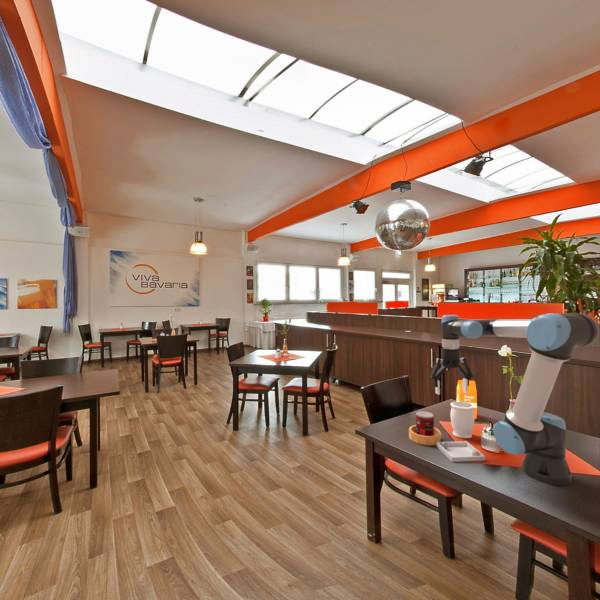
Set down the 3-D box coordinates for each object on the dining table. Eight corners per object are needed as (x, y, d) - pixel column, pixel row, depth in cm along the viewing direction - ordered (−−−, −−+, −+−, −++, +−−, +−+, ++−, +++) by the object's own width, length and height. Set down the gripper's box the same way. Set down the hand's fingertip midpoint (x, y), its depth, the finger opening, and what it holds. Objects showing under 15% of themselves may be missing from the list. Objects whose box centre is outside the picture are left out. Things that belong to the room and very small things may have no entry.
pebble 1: (449, 449, 146) (449, 443, 146) (442, 450, 146) (442, 443, 146) (446, 446, 149) (446, 440, 149) (439, 447, 149) (439, 440, 149)
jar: (469, 431, 167) (469, 401, 166) (478, 440, 156) (478, 408, 156) (447, 430, 168) (447, 400, 167) (454, 439, 157) (454, 407, 157)
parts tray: (485, 461, 137) (485, 456, 137) (451, 462, 136) (451, 457, 136) (466, 445, 151) (466, 441, 151) (436, 446, 150) (436, 442, 150)
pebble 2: (481, 459, 138) (481, 452, 138) (474, 459, 138) (474, 452, 138) (477, 456, 141) (477, 449, 141) (470, 456, 141) (470, 449, 141)
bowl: (446, 445, 151) (446, 436, 151) (416, 446, 151) (416, 437, 151) (432, 432, 165) (432, 424, 165) (404, 433, 165) (404, 425, 165)
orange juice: (477, 418, 183) (477, 382, 182) (459, 417, 185) (459, 381, 185) (473, 413, 190) (473, 379, 190) (456, 412, 192) (456, 378, 192)
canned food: (417, 432, 163) (417, 409, 163) (435, 435, 159) (435, 412, 159) (414, 438, 157) (414, 414, 157) (432, 441, 153) (432, 418, 153)
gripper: (471, 346, 161) (471, 390, 160) (421, 347, 158) (422, 392, 158) (480, 348, 153) (481, 394, 153) (428, 349, 151) (429, 396, 151)
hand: (451, 393), depth 156 cm, fingers open, 13 cm apart
